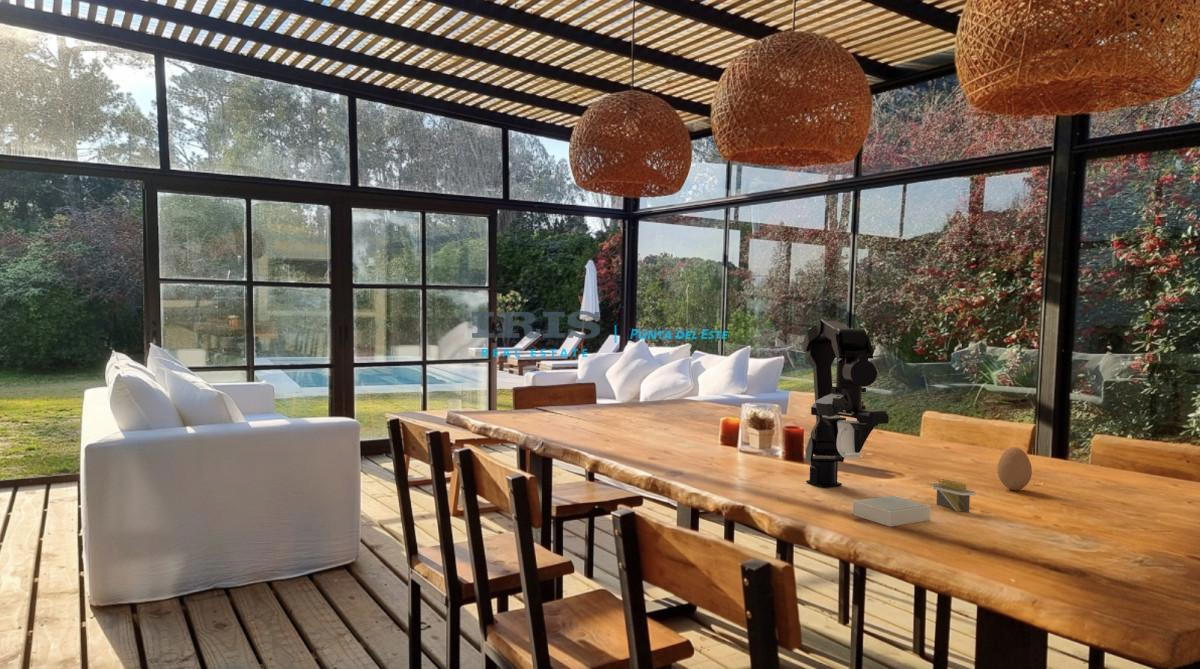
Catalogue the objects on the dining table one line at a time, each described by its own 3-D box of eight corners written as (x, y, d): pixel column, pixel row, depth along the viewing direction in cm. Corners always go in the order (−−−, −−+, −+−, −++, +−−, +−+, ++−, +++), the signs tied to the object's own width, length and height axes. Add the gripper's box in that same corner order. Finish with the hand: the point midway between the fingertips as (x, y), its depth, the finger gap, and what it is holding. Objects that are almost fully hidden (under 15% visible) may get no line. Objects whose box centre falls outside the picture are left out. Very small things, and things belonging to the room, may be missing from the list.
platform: (972, 523, 156) (972, 492, 156) (898, 504, 172) (899, 476, 172) (1004, 516, 162) (1005, 487, 162) (931, 499, 178) (931, 472, 178)
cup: (872, 457, 171) (873, 422, 171) (852, 462, 164) (853, 426, 164) (844, 452, 176) (845, 419, 176) (823, 457, 169) (824, 422, 169)
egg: (992, 485, 192) (994, 444, 192) (1024, 487, 190) (1026, 445, 190) (1002, 492, 184) (1003, 448, 184) (1035, 494, 183) (1037, 450, 183)
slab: (891, 508, 166) (892, 495, 166) (929, 520, 157) (930, 505, 157) (852, 514, 160) (852, 500, 160) (889, 526, 151) (890, 511, 151)
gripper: (794, 380, 175) (792, 446, 175) (854, 387, 158) (852, 459, 159) (829, 379, 180) (827, 443, 180) (891, 386, 163) (889, 456, 164)
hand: (847, 450), depth 171 cm, fingers closed on cup, 6 cm apart
